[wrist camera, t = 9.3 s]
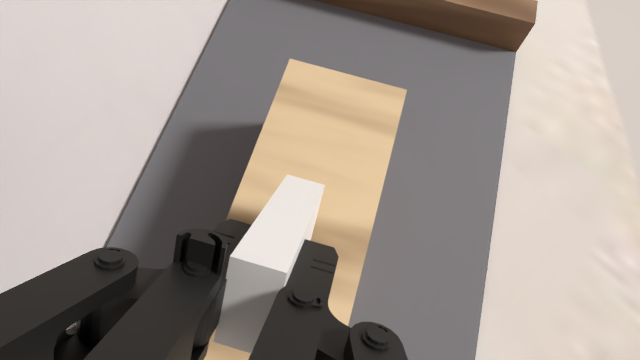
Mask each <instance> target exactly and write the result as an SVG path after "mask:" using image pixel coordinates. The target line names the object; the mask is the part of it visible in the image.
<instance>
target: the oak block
mask: <svg viewBox="0 0 640 360" xmlns="http://www.w3.org/2000/svg"><path fill="white" fill-rule="evenodd" d="M406 92H407V90H406V89H402V88H399V87H395V86H391V85H387V84H384V83H380V82H376V81H372V80H369V79H365V78H361V77H357V76H354V75H350V74H346V73H342V72H339V71H335V70H331V69H327V68H324V67H320V66H316V65H312V64H309V63H305V62H301V61H297V60H294V59H289V62H288V64H287V67H286V69H285V72H284V75H283V77H282V80H281V82H280V85H279V87H278V90H277V92H276V95H275V97H274V100H273V102H272V105H271V107H270V110H269V112H268V115H267V117H266V120H265V123H264V125H263V128H262V130H261V133H260V135H259V138H258V140H257V143H256V145H255V148H254V150H253V153H252V155H251V158H250V160H249V163H248V166H247V168H246V171H245V173H244V176H243V178H242V181H241V183H240V186H239V188H238V191H237V193H236V196H235V198H234V201H233V203H232V206H231V208H230V211H229V214H228V216H227V219H226V221H227V220H229V219H233V220H237V221H240V222H244V223H247V224H251V225H252V224H253V223H254V221H255V220H256V218H257V217H258V215H259V214H260V213H261V211H262V210H263V208H264V207H265V205H266V204H267V203H268V201H269V200H270V198H271V197H272V196H273V194H274V193H275V191H276V190H277V188H278V187H279V186H280V184H281V183H282V181H283V180H284V178H285V177H286V176H287V174H288V175H291V176H295V177H298V178H302V179H305V180H309V181H313V182H316V183H320V184H323V185H325V187H324V191H323V195H322V198H321V202H320V206H319V210H318V214H317V218H316V222H315V225H314V229H313V233H312V237H311V241H314V242H317V243H320V244H324V245H327V246H331V247H334V248H335V250H336V252H337V254H338V257H339V258H338V262H337V266H336V270H335V274H334V278H333V283H332V287H331V291H330V295H329V299H328V306H329V309H330V311H331V313H332V314H333V315H334V316H335V317H336V318H337V319H338V320H339V321H340V322H342V323H343V324H345V325H347V326H348V324H349V320H350V316H351V312H352V308H353V304H354V300H355V296H356V292H357V288H358V284H359V280H360V276H361V272H362V268H363V264H364V260H365V256H366V252H367V248H368V244H369V240H370V236H371V232H372V228H373V224H374V220H375V216H376V212H377V208H378V204H379V200H380V196H381V192H382V188H383V184H384V180H385V176H386V172H387V168H388V164H389V160H390V156H391V152H392V148H393V144H394V140H395V136H396V132H397V128H398V124H399V120H400V116H401V112H402V108H403V104H404V100H405V96H406ZM215 331H216V329H215ZM215 331H214V332H213V334H212V336H211V338H210V340H209V346H208V350H207V354H206V356H205V358H204V360H248V359H249V357H250V355H251V353H248V352H245V351H242V350H238V349H235V348H232V347H229V346H225V345H222V344H219V343H216V342H214V337H215Z"/></svg>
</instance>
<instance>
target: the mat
mask: <svg viewBox="0 0 640 360" xmlns="http://www.w3.org/2000/svg"><path fill="white" fill-rule="evenodd" d="M515 55H516V52H514V51H510V50H506V49H502V48H498V47H495V46H491V45H487V44H483V43H479V42H475V41H471V40H467V39H463V38H460V37H456V36H452V35H448V34H444V33H440V32H436V31H432V30H428V29H425V28H421V27H417V26H413V25H409V24H405V23H401V22H397V21H393V20H390V19H386V18H382V17H378V16H374V15H370V14H366V13H362V12H358V11H355V10H351V9H347V8H343V7H339V6H335V5H331V4H327V3H323V2H320V1H316V0H230V1H229V3H228V5H227V7H226V9H225V11H224V13H223V15H222V17H221V19H220V21H219V23H218V25H217V27H216V29H215V31H214V33H213V35H212V37H211V39H210V41H209V43H208V45H207V47H206V49H205V51H204V53H203V55H202V57H201V59H200V61H199V63H198V65H197V67H196V69H195V71H194V73H193V75H192V77H191V79H190V81H189V83H188V85H187V87H186V89H185V91H184V93H183V95H182V97H181V99H180V101H179V103H178V105H177V107H176V109H175V111H174V113H173V115H172V117H171V119H170V121H169V123H168V125H167V127H166V129H165V131H164V133H163V135H162V137H161V139H160V141H159V143H158V145H157V147H156V149H155V151H154V153H153V155H152V157H151V159H150V161H149V163H148V165H147V167H146V169H145V171H144V173H143V175H142V177H141V179H140V181H139V183H138V185H137V187H136V189H135V191H134V193H133V195H132V197H131V199H130V201H129V203H128V205H127V207H126V209H125V211H124V213H123V215H122V217H121V219H120V221H119V223H118V225H117V227H116V229H115V231H114V233H113V235H112V237H111V239H110V241H109V243H108V245H107V247H115V248H122V249H125V250H128V251H130V252H132V253H133V254H134V255H136V257H137V259H138V261H139V262H138V267H139V268H151V269H167V268H168V266H169V265H170V264H171V263H172V262H173V257H174V250H175V243H176V236H177V234H178V233H180V232H181V231H183V230H187V229H207V230H211V231H213V230H214V229H215V228H216V227H217V225H218V224H219V223H222V222H224V221H226V219H227V216H228V214H229V211H230V208H231V206H232V203H233V201H234V198H235V196H236V193H237V191H238V188H239V186H240V183H241V181H242V178H243V176H244V173H245V171H246V168H247V166H248V163H249V160H250V158H251V155H252V153H253V150H254V148H255V145H256V143H257V140H258V138H259V135H260V133H261V130H262V128H263V125H264V123H265V120H266V117H267V115H268V112H269V110H270V107H271V105H272V102H273V100H274V97H275V95H276V92H277V90H278V87H279V85H280V82H281V80H282V77H283V75H284V72H285V69H286V67H287V64H288V62H289V59H294V60H297V61H301V62H305V63H309V64H312V65H316V66H320V67H324V68H327V69H331V70H335V71H339V72H342V73H346V74H350V75H354V76H357V77H361V78H365V79H369V80H372V81H376V82H380V83H384V84H387V85H391V86H395V87H399V88H402V89H406V90H407V92H406V96H405V100H404V104H403V108H402V112H401V116H400V120H399V124H398V128H397V132H396V136H395V140H394V144H393V148H392V152H391V156H390V160H389V164H388V168H387V172H386V176H385V180H384V184H383V188H382V192H381V196H380V200H379V204H378V208H377V212H376V216H375V220H374V224H373V228H372V232H371V236H370V240H369V244H368V248H367V252H366V256H365V260H364V264H363V268H362V272H361V276H360V280H359V284H358V288H357V292H356V296H355V300H354V304H353V308H352V312H351V316H350V320H349V324H348V326H349V327H350V328H352V327H353V326H354V324H357V323H360V322H374V323H378V324H381V325H383V326H385V327H387V328H389V329H391V330H392V331H393V332H394V333H395V334H396V335H397V336H398V337H399V339H400V340H401V342H402V344H403V347H404V350H405V352H406V355H407V358H408V360H475V355H476V347H477V340H478V332H479V325H480V318H481V310H482V303H483V295H484V288H485V280H486V273H487V265H488V258H489V250H490V243H491V235H492V228H493V220H494V213H495V205H496V198H497V190H498V183H499V175H500V168H501V160H502V153H503V145H504V138H505V130H506V123H507V115H508V108H509V100H510V93H511V85H512V78H513V70H514V63H515ZM107 247H106V248H107Z"/></svg>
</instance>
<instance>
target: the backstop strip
mask: <svg viewBox="0 0 640 360" xmlns="http://www.w3.org/2000/svg"><path fill="white" fill-rule="evenodd" d="M316 1H320V2H323V3H327V4H331V5H335V6H339V7H343V8H347V9H351V10H355V11H358V12H362V13H366V14H370V15H374V16H378V17H382V18H386V19H390V20H393V21H397V22H401V23H405V24H409V25H413V26H417V27H421V28H425V29H428V30H432V31H436V32H440V33H444V34H448V35H452V36H456V37H460V38H463V39H467V40H471V41H475V42H479V43H483V44H487V45H491V46H495V47H498V48H502V49H506V50H510V51H514V52H516V51H517V50H518V48H519V47H520V45H521V44H522V42H523V41H524V39H525V38H526V36H527V35H528V33H529V32H530V30H531V29H532V27H533V26H534V24H535V20H536V11H537V2H538V1H536V0H316Z"/></svg>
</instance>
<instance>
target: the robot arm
mask: <svg viewBox="0 0 640 360" xmlns="http://www.w3.org/2000/svg"><path fill="white" fill-rule="evenodd" d="M324 187H325V185H323V184H320V183H316V182H313V181H309V180H305V179H302V178H298V177H295V176H291V175H288V174H287V176H286V177H285V178H284V180H283V181H282V183H281V184H280V186H279V187H278V188H277V190H276V191H275V193H274V194H273V196H272V197H271V198H270V200H269V201H268V203H267V204H266V205H265V207H264V208H263V210H262V211H261V213H260V214H259V215H258V217H257V218H256V220H255V221H254V223H253V224H252V225H251V224H247V223H244V222H240V221H237V220H233V219H229V220H227V221H224V222H222V223H219V224H218V225H217V227H216V228H215V229H214V230H213V231H211V230H207V229H187V230H183V231H181V232H180V233H178V234H177V236H176V243H175V250H174V257H173V262H172V263H171V264H170V265H169V266H168V268H167V269H151V268H139V267H138V262H139V261H138V259H137V257H136V255H134V254H133V253H132V252H130V251H128V250H125V249H122V248H115V247H107V248H99V249H96V250H93V251H90V252H88V253H85V254H83V255H81V256H79V257H77V258H75V259H73V260H71V261H69V262H66V263H64V264H62V265H60V266H58V267H56V268H54V269H52V270H50V271H47V272H45V273H43V274H41V275H39V276H37V277H35V278H33V279H31V280H28V281H26V282H24V283H22V284H20V285H18V286H16V287H14V288H12V289H10V290H7V291H5V292H3V293H1V294H0V360H204V358H205V356H206V354H207V350H208V346H209V340H210V338H211V336H212V334H213V332H214V331H215V329H216V331H215V337H214V342H216V343H219V344H222V345H225V346H229V347H232V348H235V349H238V350H242V351H245V352H248V353H251V355H250V357H249V359H248V360H408V358H407V355H406V352H405V350H404V347H403V344H402V342H401V340H400V339H399V337H398V336H397V335H396V334H395V333H394V332H393V331H392V330H391V329H389V328H387V327H385V326H383V325H381V324H378V323H374V322H360V323H357V324H354V326H353V327H352V328H350V327H349V326H347V325H345V324H343V323H342V322H340V321H339V320H338V319H337V318H336V317H335V316H334V315H333V314H332V313H331V311H330V309H329V306H328V299H329V295H330V291H331V287H332V283H333V278H334V274H335V270H336V266H337V262H338V258H339V257H338V254H337V252H336V250H335V248H334V247H331V246H327V245H324V244H320V243H317V242H314V241H311V237H312V233H313V229H314V225H315V222H316V218H317V214H318V210H319V206H320V202H321V198H322V195H323V191H324ZM76 321H77V325H76V326H75V327H73V328H71V329H69V330H67V331H66V330H65V329H66V328H67V327H69V326H70V325H72V324H73V323H75V322H76Z"/></svg>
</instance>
